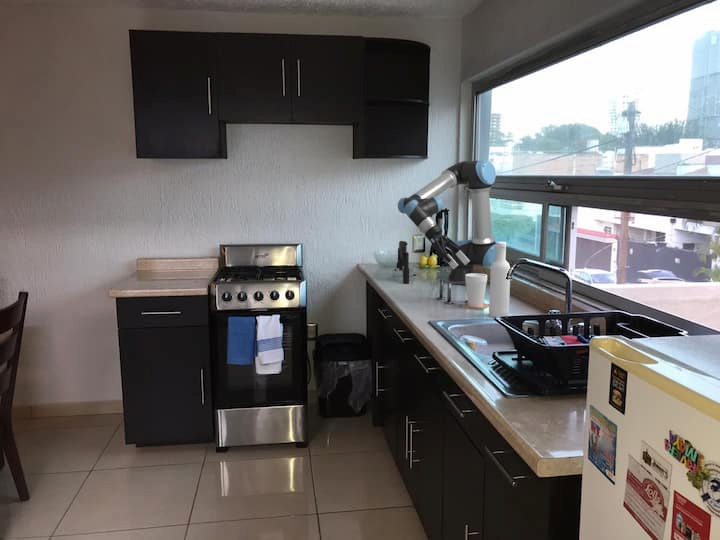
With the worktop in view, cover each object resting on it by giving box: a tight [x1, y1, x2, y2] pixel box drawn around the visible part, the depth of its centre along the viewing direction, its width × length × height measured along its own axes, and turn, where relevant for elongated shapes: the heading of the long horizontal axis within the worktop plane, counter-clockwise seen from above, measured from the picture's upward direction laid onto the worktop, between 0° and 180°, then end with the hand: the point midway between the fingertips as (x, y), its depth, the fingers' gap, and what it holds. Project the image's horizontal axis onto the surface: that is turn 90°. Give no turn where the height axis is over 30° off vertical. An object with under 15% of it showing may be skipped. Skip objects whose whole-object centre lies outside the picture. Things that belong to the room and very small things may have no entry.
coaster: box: [461, 302, 489, 311], centre depth 253 cm, size 9×9×1 cm
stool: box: [387, 240, 418, 285], centre depth 321 cm, size 16×21×33 cm
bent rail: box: [436, 278, 468, 305], centre depth 263 cm, size 11×18×10 cm, turn 58°
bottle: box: [488, 241, 511, 319], centre depth 234 cm, size 8×8×30 cm
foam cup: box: [465, 272, 488, 306], centre depth 252 cm, size 10×9×13 cm
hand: (461, 265), depth 254 cm, fingers open, 13 cm apart
